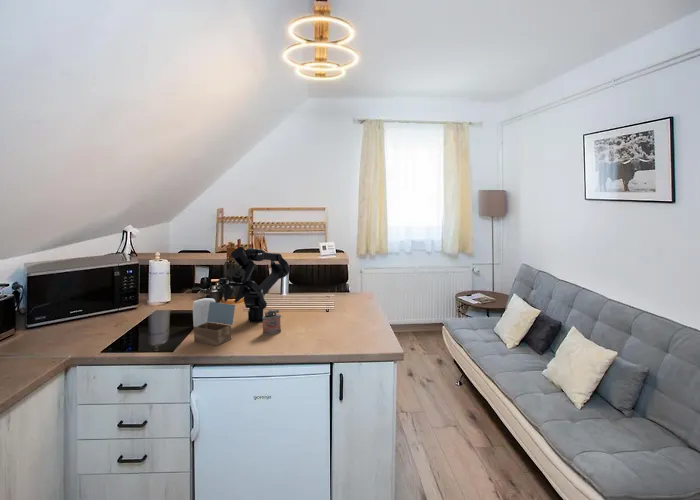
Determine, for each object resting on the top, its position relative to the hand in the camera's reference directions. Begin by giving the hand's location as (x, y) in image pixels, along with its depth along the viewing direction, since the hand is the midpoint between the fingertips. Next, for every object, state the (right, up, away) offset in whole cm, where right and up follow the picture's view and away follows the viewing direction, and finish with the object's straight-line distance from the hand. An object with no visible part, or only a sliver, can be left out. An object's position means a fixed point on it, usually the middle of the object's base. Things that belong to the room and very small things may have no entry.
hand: (229, 301), depth 182 cm
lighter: (+18, -14, +1) cm, 23 cm away
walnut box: (-5, -15, -9) cm, 18 cm away
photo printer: (-15, -12, +12) cm, 23 cm away
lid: (-3, -4, -5) cm, 7 cm away
